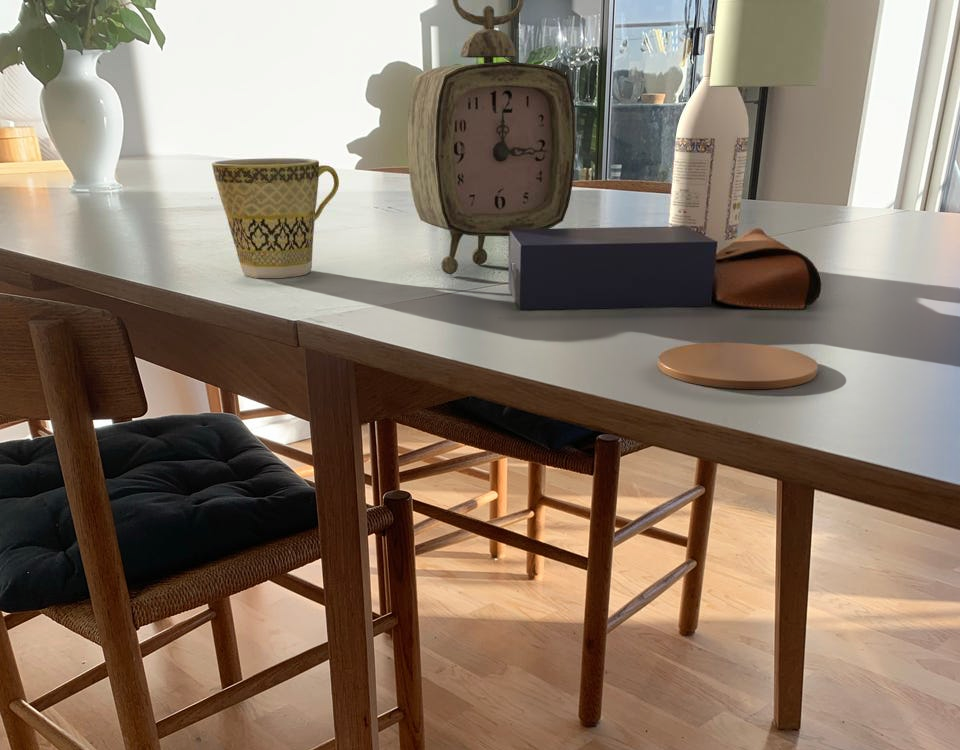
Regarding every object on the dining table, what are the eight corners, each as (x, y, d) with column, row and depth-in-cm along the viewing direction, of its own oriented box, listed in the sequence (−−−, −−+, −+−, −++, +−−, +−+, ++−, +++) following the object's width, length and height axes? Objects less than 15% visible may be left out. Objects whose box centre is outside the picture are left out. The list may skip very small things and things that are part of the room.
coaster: (784, 348, 66) (786, 340, 65) (842, 387, 57) (843, 378, 57) (643, 351, 65) (643, 344, 65) (679, 391, 57) (680, 383, 56)
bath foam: (718, 256, 101) (743, 36, 91) (744, 267, 95) (773, 31, 85) (656, 259, 100) (674, 36, 90) (678, 269, 94) (700, 32, 84)
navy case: (681, 284, 87) (687, 226, 85) (712, 306, 79) (719, 241, 76) (507, 288, 86) (507, 229, 84) (518, 310, 78) (519, 245, 75)
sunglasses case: (679, 266, 92) (721, 202, 89) (736, 304, 94) (779, 242, 91) (716, 303, 77) (769, 226, 74) (784, 347, 79) (838, 274, 76)
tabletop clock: (438, 279, 90) (429, -40, 78) (405, 266, 98) (392, -29, 85) (571, 268, 96) (582, -34, 83) (530, 256, 103) (535, -23, 90)
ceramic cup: (259, 285, 89) (244, 166, 84) (208, 272, 95) (192, 161, 90) (371, 269, 96) (365, 159, 91) (318, 258, 102) (309, 155, 97)
